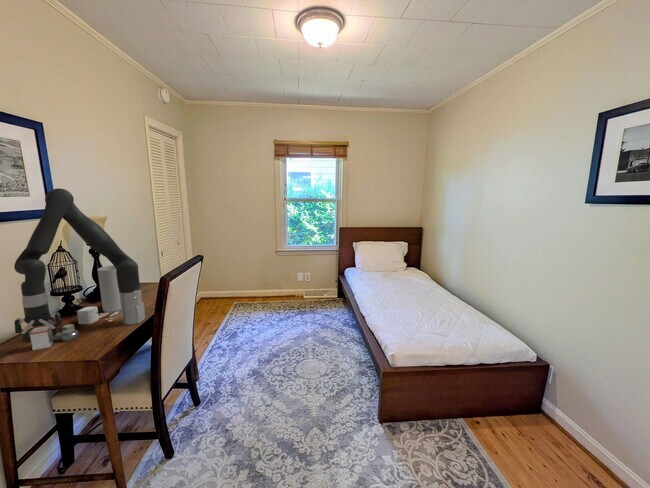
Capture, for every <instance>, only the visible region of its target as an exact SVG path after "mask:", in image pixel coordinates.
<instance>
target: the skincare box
mask: <svg viewBox="0 0 650 488" xmlns="http://www.w3.org/2000/svg"><path fill="white" fill-rule="evenodd" d="M76 313H77V314H76V315H77V321H78V324H79V325H90V324H93V323H94V322H95V323H96V322H97V321H99V320H100V318H99V310H98V306H86V307H83V308H81V309H79V310H76Z"/></svg>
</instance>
